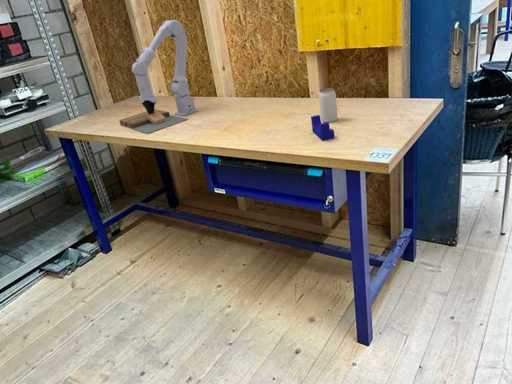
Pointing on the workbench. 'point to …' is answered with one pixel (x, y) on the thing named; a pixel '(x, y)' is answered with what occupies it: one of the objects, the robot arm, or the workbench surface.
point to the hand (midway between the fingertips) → (152, 115)
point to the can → (328, 105)
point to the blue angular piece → (321, 128)
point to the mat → (160, 125)
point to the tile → (156, 118)
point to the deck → (140, 119)
